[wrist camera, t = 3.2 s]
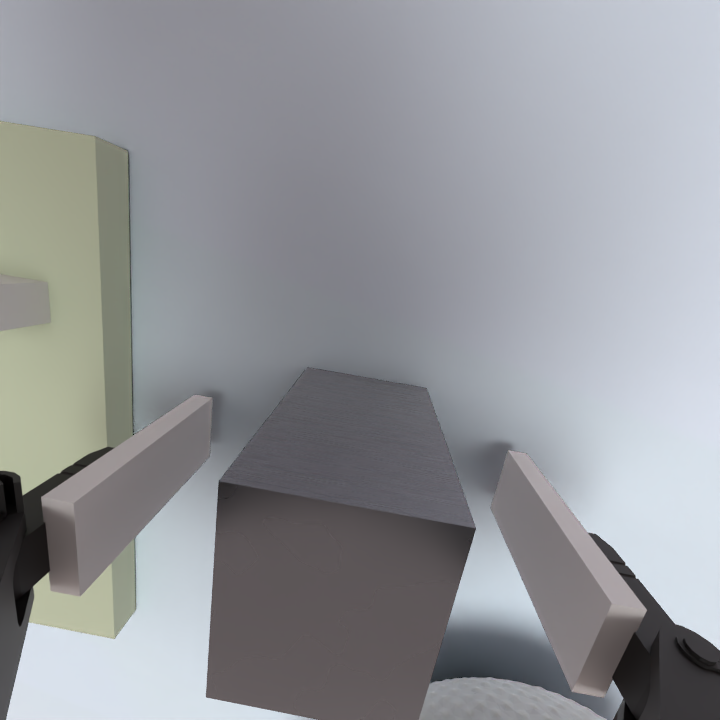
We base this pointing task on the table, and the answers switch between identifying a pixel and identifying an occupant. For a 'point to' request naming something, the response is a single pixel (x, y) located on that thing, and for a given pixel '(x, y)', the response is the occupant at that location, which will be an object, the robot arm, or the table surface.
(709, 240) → the table surface
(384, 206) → the table surface
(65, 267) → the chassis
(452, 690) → the cereal bowl
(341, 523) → the brushed metal block
